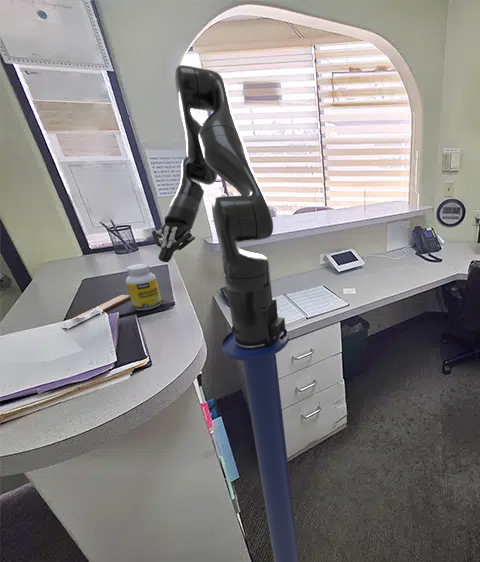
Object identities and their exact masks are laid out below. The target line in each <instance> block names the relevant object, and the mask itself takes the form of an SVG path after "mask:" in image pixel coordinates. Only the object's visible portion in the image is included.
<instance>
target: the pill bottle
mask: <svg viewBox="0 0 480 562" xmlns="http://www.w3.org/2000/svg"><path fill="white" fill-rule="evenodd" d="M126 272H127V274H129V275H128V276H127V277H126V279H125V284H126V287H127V291H128V293H129V294H128V295H130V298H131V299H130V300H131V304H132V307H133V309H134V310H136V311H148V310H149V311H150V310H152V309H155V308H157V307H160V305H161V304H162V298H161V293H160V289H159V285H158V281H157V277H156V275H155V274H154V273H152V272H150V266H149V264H148V263H137V264H132V265H129V266H127V267H126Z"/></svg>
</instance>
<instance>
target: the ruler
mask: <svg viewBox="0 0 480 562" xmlns="http://www.w3.org/2000/svg"><path fill="white" fill-rule="evenodd" d="M128 300H131V298H130V294H120V295H118V296H116V297H114V298H112V299H109V300H108V301H106V302H104V303H101V304H100V305H97V306H95V307H93V308H91V309H89V310H87V311H85V312H83V313H81V314H78V315H76V316H74V317H72V318H70V319H69V320H71V319H76V318H83V317H84V316H85V315H87V314H88V313H90V312H91V311H93V310H94V309H96V308H97V307H99V308H100V309H102V310H103V311H104V312H103V313H105V312H107V311H108V310H111V309H113V308H115V307H117V306H119V305H121V304H122V303H124V302H127V301H128Z"/></svg>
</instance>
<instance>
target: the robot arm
mask: <svg viewBox="0 0 480 562" xmlns="http://www.w3.org/2000/svg"><path fill="white" fill-rule="evenodd" d="M174 82H175V90H176V97H177V101H178V107H179V112H180V118H181V122H182V125H183V130H184V135H185V151H186V152H185V153H186V157H184V158H183V159H182V161H181V163H180V180H179V185H178V188H177V190H176V193H175V195H174V197H173V198H172V200H171V202H170V204H169V207H168V208H167V212H166V214H165V215H164V224H163V225H162V226H161V227H160V229H159V230H152V231H151V235H152V237H153V240H154V242H155V245H156V246H157V247H159V248H160V249H161V250H160V251H159V254H158V260H159V261H160V262H162V263H169V262H170V261H171V260H172V257H173V254H174V253H175V252H176V251H182V250H183V249H184V248H185V247H187V246H188V245H189V244H190V243H191V242H193V241H195V239H196V236H195V235H193V233H191V230H192V229H193V226H194V224H195V222H196V220H197V219H196V218H197V215H198V213H199V209H200V205H201V202H202V200H203V197H204V195H205V190H204V187H203V186H201V185H200V184H199V183H201V184H203V185H208V186H210V185H213V184H214V183H215V182H216V181H217V179H218V177H219V178H220V179H222V180H223V181H225V182H226V183H228V185H230V186H231V187H233V188H234V189H235V190H236V191H237V192H238V193H239V194H240V195H226V196H217V197H215V198H214V199H213V201H212V204H211V210H212V218H213V219H212V220H213V224H214V229H215V232H216V236H217V241H218V245H219V250H220V256H221V261H222V268H223V274H224V275H223V277H224V281H225V282H224V283H225V287H226V293H227V299H228V306H229V312H230V317H231V323H232V326H231V332H233V331H234V336H235V344H236V345H237V346H238V347H240V348H242V349H258V348H262V347H270V346H271V345H272V343H273V342H274V341H275V339H276V338H277V336H278V337H279V336H280V334H281V333H282V331H283V332H284V333H283V335H282V336H281V337H280V339H281V340H283V338H285V337H286V335H287V331H288V330H287V328H286V320H285V317H281V316H280V317H279V315H278V314H279V311H278V303H277V298H273V290H272V282H271V281H272V280H271V271H270V263H269V262H270V261H269V259H268V257H266V255H264V254H262V253H258V252H252V251H248V250H244V249H242V248H240V247H238V245H237V243H244V242H253V241H261V240H267V239H269V238H270V237H271V236H272V234H273V232H274V220H273V216H272V211H271V210H270V206H269V204H268V202H267V199H266V197H265V195H264V193H263V191H262V188H261V186H260V184H259V182H258V180H257V178H256V176H255V173H254V170H253V168H252V165H251V161H250V158H249V156H248V151H247V149H246V146H245V144H244V140H243V137H242V134H241V133H240V130H239V128H238V125H237V123H236V120H235V117H234V114H233V111H232V106H231V102H230V98H229V94H228V91H227V90H228V89H227V87H226V83H225V81H224V78H223V77H222V76H221V74H220V73H218V72H217V71H214V70H211V69H207V68H202V67H196V66H190V65H185V64H184V65H181V64H179V65H178V66H176V68H175V73H174ZM194 110H198V111H206V112H212V113H211V114H210V115H209V116H208V117H207V118H206V119H205V120H204V122H203V123H202V122H201V121H200V120H199V118H198V117H197V116H196V114H195V112H194ZM285 328H286V329H285Z"/></svg>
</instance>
